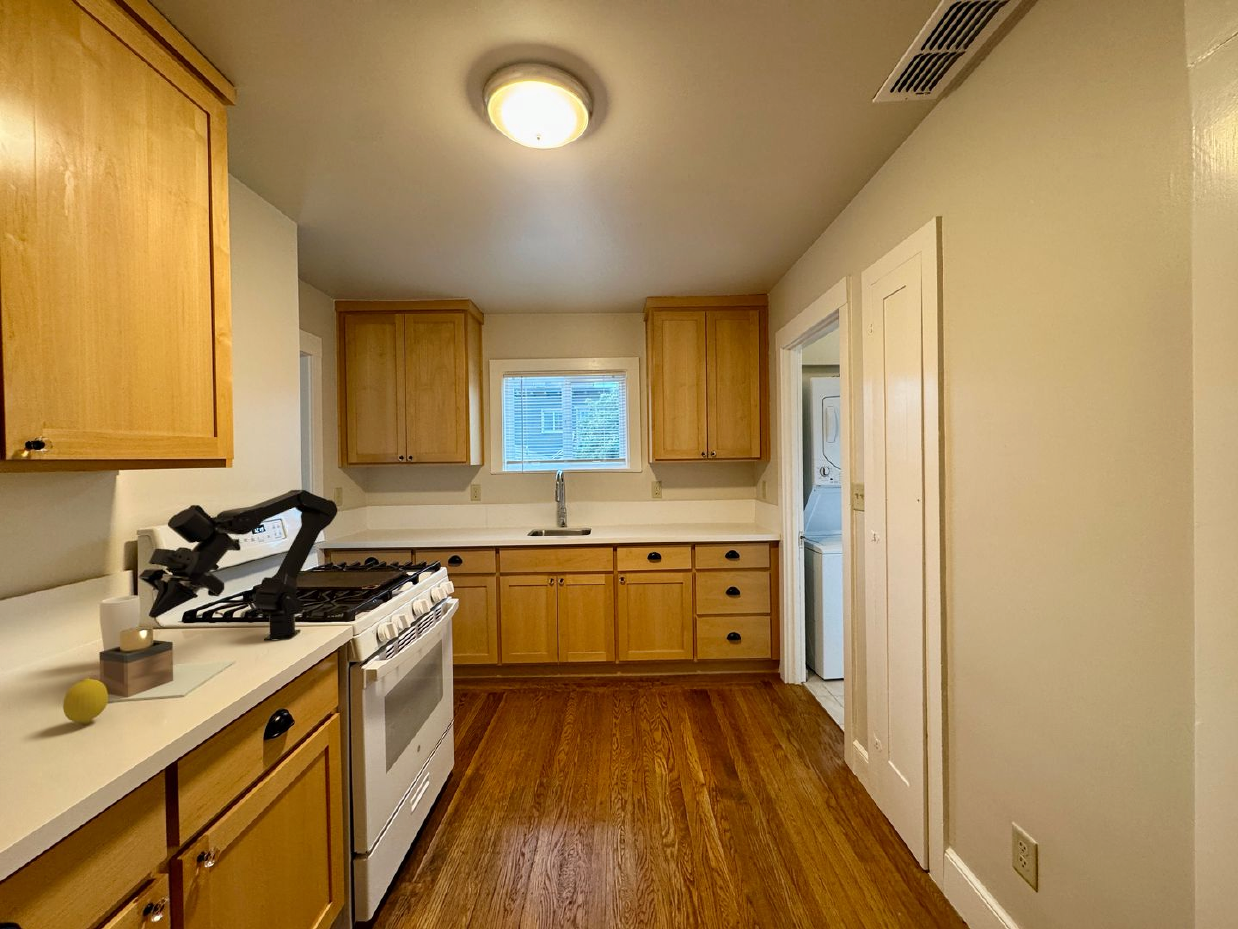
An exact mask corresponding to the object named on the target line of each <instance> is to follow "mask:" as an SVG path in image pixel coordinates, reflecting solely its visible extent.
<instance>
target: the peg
mask: <svg viewBox="0 0 1238 929" xmlns="http://www.w3.org/2000/svg"><path fill="white" fill-rule="evenodd" d="M153 640H154V627H153V626H152V625H151V626H150V625H147V626H146V625H144V626H139V627H135V628H130V629H126V630H123V631H121V632H120V652H124V653H133V652H136V651H140V650H143V649H146V648H150V647H153Z"/></svg>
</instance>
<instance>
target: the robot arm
mask: <svg viewBox="0 0 1238 929" xmlns="http://www.w3.org/2000/svg"><path fill="white" fill-rule="evenodd" d="M291 509H296V510H297V511H298V512H300V513H301V514H300V523H301V524H300V525H301V527H299V529H298V531H297V534H296V536H295V538H294V539H293V542H292V543H291V545H290V547H289V549H288V551H287V553H286V554H285V556H284V559H283V561H282V563H281V564H280V566H279V568H278V570H277V572H276V573H275V574H274V575H273V576H272V577H267V576H266V577H264V578H263V579H262V580H261V583H260V585H259V587H258V589H256V591H255V593H256V596H255V599H254V600H255V602H256V605H257V606H258V608H259V610H260V612H261V614H262V615H269V618H268V619H269V620H268V621H269V634H268V635H266V636H265V637H264V638H263V641H273V640H272V639H279V640H289V638H290V639H293V637H295V636H296V635H298V634H299V633H301V629H296V615H298V614H299V613H302V612H303V609H304V605H305V604H304V602H303V601H301V599H299V598H298V597H296V595H297V592H298V582H297V580H298V577H299V575H300V573H301V571H302V569H303V567H304V564H305V563H306V561H307V559H308V557H309V555H310V553H311V551H312V549H313V547H314V545H315V543H316V541H317V539H318V537H319V535H320V533H321V532H322V531H323V530H325V529H326V528H327V527H328V526H330V524H331V523H332V522H333V521H334V519H335V518H336V516H337V515H338V511H339V510H338V507H337V504H336V503H335V501H334V500H331V499H326V498H325V497H321V496H319V495H316V494H313V493H312V492H310V491H308V490H306V489H291V490H289V491H287V492H286V493H284V494H283V493H282V494H280V495H278V496H275V497H272V498H270V499H267V500H264V501H262V502H259V503H257V504H254V505H252V506H246V507H239V508H231V509H226V510H222V511H220V512H218V513H217V515H216V516H213V517H212V516H210V515H209V514H208V512H206V511H205V509H204V508H203V507H202V506H200V505H199V504H192V505H190V506H189V507H188V508H186V509H184V510H181V511H180V512H178V513H176V514H174V515H173V516H171V517H170V519H169V520H168V523H167V527H168V528H169V529H171V530H172V531H173V532H174V533H176V534H177V535H178V536H180V538H182V539H184V540H185V541H186V542H187V543H189V544H193V543H197V544H196V545H195V546H194V547H193V549H192V548H188V547H178V548H177V549H168V548H155V549H154V551H153V553H152V555H151V557H150V559H149V561H148V564H149V565H158V566H161V567H166V568H165V569H163V568H146V569H145V570H143V571H142V572H141V573H140V574H139V575H138V578H139V579H140V580H142V582H144V583H145V584H147V585H148V586H150V587H151V588H153V589H154V590H156V591H157V593H156V597H155V600H154V602H153V604H152V606H151V608H150V611H149V613H148V617H150V618H152V619H157V617H160V616H162V615H164V614H165V613H167V612H169V611H171V610H173V609H175V608H176V607H178V606H180V605H183V604H184V603H187V602H189V601H191V600H192V599H197V598H198V597H199V595H198V594H197V593H198V592H199V591H200V590H202V589H203V588H204V589H205V588H206V589H207V595H208V596H210V597H220V595H221V594H222V593H223V592H224V590H225V582H224V581H223V580H221V579H220V578H218V577H217V576H215V574H213V573H212V572H211V571H218V569H219V568H220V566H219V565H218V563H219V562H220V561H221V559H223V557H224V556H225V555H226V554H227V552H228V551H233V552H234V551H239V552H240V551H241V544H240V539H238V538H232V537H231V536H230V535H239V536H240V535H242V536H243V535H247V534H249V533H251V532H253V531H254V530H255V529H257V528H259V527H260V525H261V524H263V522H264V521H266V520H268V519H271V518H273V517H275V516H278V515H280V514H282V513H285V512H288V511H290V510H291ZM169 573H171V574H169ZM298 632H299V633H298ZM297 633H298V634H297ZM295 634H296V635H295ZM294 635H295V636H294Z"/></svg>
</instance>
